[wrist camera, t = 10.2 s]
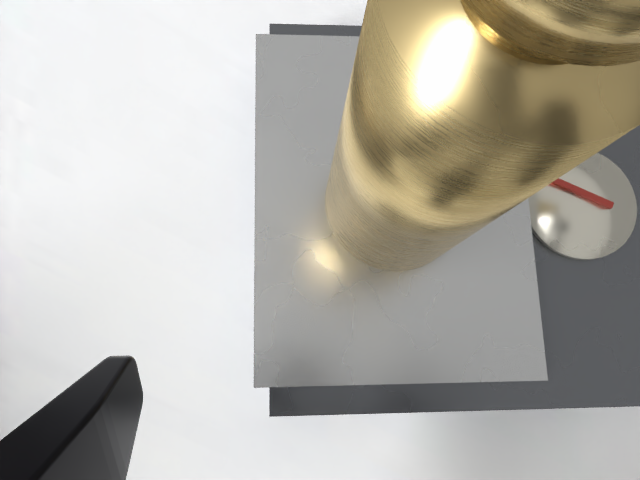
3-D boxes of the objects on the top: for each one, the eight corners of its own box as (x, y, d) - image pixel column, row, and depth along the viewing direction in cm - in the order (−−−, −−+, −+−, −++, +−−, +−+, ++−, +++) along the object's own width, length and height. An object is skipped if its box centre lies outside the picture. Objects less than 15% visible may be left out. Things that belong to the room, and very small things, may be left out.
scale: (642, 399, 22) (705, 406, 19) (258, 409, 21) (253, 419, 17) (594, 63, 25) (640, 20, 22) (259, 57, 24) (256, 11, 21)
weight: (488, 228, 19) (951, -64, 6) (370, 296, 19) (583, 142, 5) (416, 114, 20) (675, -376, 7) (299, 175, 19) (322, -238, 6)
